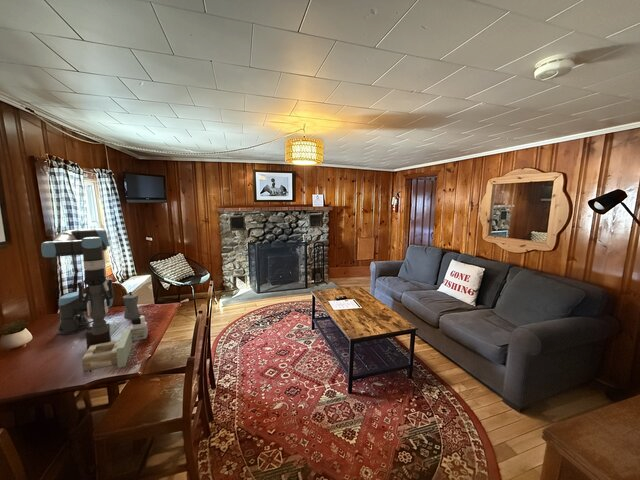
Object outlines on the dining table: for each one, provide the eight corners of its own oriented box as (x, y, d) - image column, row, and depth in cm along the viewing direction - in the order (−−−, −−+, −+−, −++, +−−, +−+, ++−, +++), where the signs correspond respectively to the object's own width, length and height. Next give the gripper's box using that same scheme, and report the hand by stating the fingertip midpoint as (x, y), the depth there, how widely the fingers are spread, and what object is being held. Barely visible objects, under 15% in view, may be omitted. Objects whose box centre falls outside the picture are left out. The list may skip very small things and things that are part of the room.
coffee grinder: (111, 337, 161) (108, 308, 159) (110, 344, 153) (108, 314, 150) (76, 344, 152) (73, 314, 150) (74, 353, 143) (70, 321, 141)
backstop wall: (125, 346, 150) (124, 330, 149) (132, 345, 152) (130, 329, 151) (117, 367, 131) (116, 348, 130) (125, 366, 133) (123, 347, 131)
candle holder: (98, 329, 138) (93, 282, 135) (110, 329, 138) (106, 282, 135) (88, 335, 132) (84, 286, 129) (102, 334, 132) (97, 286, 129)
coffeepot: (141, 317, 190) (140, 292, 188) (125, 320, 184) (123, 295, 182) (137, 310, 201) (135, 287, 199) (121, 314, 195) (120, 290, 193)
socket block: (91, 356, 140) (90, 345, 140) (123, 350, 147) (123, 339, 146) (83, 370, 128) (81, 359, 127) (118, 363, 135) (118, 352, 134)
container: (130, 341, 157) (129, 320, 155) (132, 335, 163) (131, 315, 162) (146, 338, 160) (144, 318, 159) (147, 333, 167) (146, 313, 165)
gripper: (65, 272, 124) (70, 319, 126) (116, 268, 132) (120, 312, 135) (71, 268, 130) (76, 314, 133) (119, 265, 139) (123, 307, 142)
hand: (98, 313), depth 134 cm, fingers closed on candle holder, 6 cm apart
